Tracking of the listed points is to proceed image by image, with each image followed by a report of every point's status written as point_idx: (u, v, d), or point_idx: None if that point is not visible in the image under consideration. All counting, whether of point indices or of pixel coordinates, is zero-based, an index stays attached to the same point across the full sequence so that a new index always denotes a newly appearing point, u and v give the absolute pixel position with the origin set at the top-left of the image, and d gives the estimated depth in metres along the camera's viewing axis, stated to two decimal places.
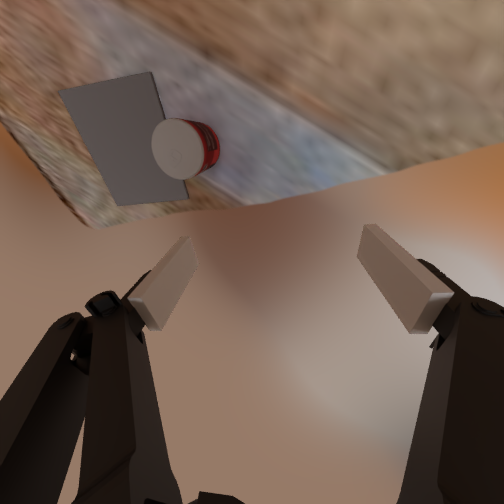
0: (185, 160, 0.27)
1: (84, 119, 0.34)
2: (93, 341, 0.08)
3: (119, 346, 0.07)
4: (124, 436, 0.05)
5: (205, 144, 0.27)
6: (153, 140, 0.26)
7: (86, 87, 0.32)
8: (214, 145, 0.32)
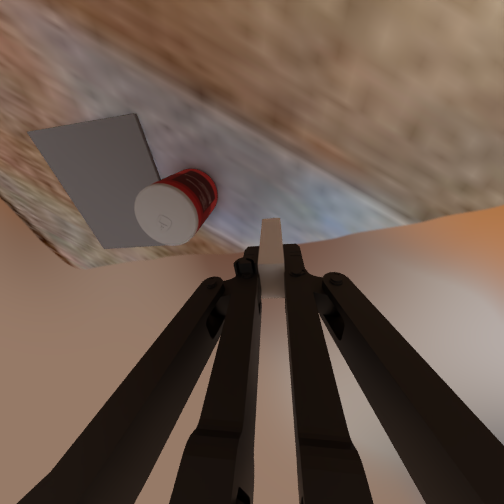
0: (176, 226, 0.23)
1: (60, 162, 0.30)
2: (231, 295, 0.09)
3: (247, 313, 0.08)
4: (236, 406, 0.05)
5: (199, 207, 0.23)
6: (136, 206, 0.22)
7: (59, 128, 0.27)
8: (211, 198, 0.27)
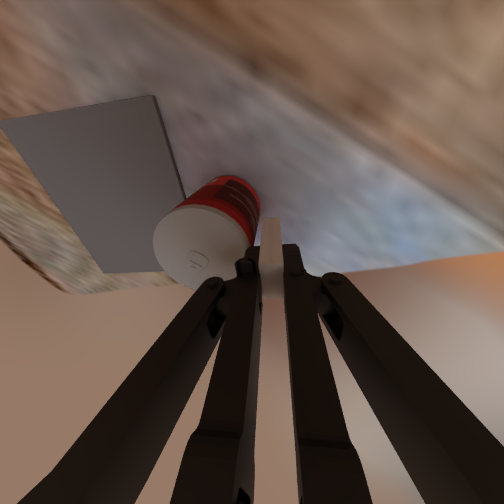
0: (214, 267, 0.15)
1: (45, 164, 0.22)
2: (232, 295, 0.09)
3: (248, 313, 0.08)
4: (236, 406, 0.05)
5: (252, 240, 0.15)
6: (156, 237, 0.14)
7: (43, 116, 0.19)
8: (257, 219, 0.19)
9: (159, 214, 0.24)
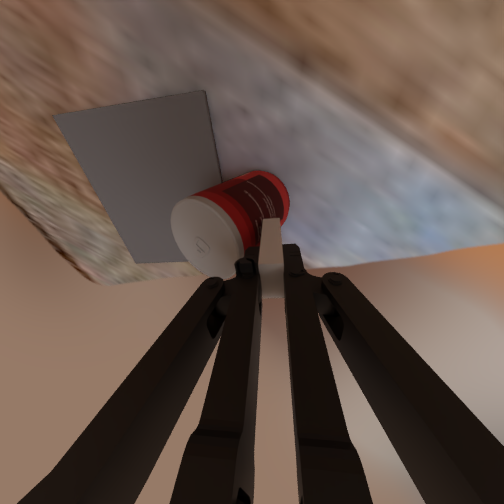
0: (214, 256, 0.16)
1: (93, 156, 0.23)
2: (232, 295, 0.09)
3: (248, 313, 0.08)
4: (236, 406, 0.05)
5: (250, 240, 0.15)
6: (172, 219, 0.16)
7: (97, 111, 0.20)
8: None
9: None
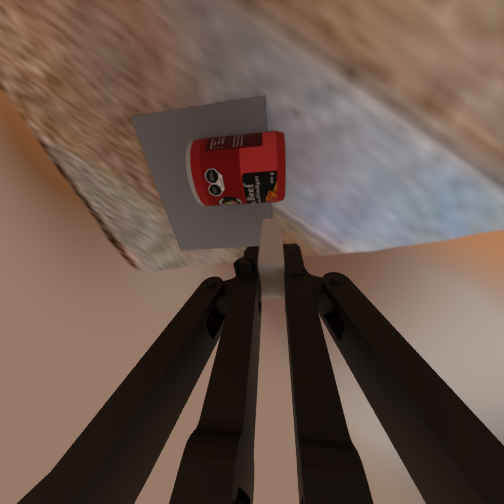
0: None
1: (159, 152, 0.26)
2: (231, 295, 0.09)
3: (248, 312, 0.08)
4: (236, 406, 0.05)
5: (200, 144, 0.20)
6: None
7: (170, 113, 0.24)
8: (244, 142, 0.20)
9: None
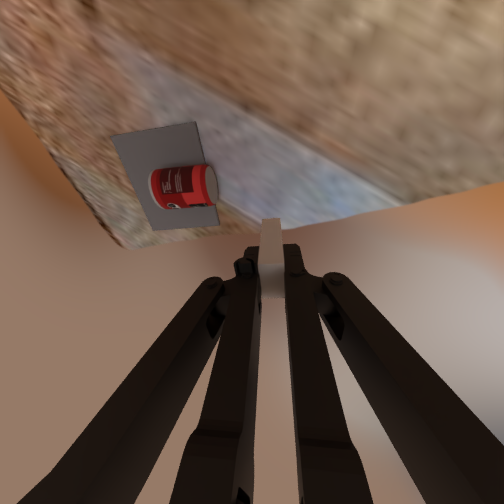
0: None
1: (131, 158, 0.39)
2: (231, 295, 0.09)
3: (247, 313, 0.08)
4: (236, 406, 0.05)
5: (157, 189, 0.34)
6: None
7: (136, 133, 0.36)
8: (183, 189, 0.33)
9: None
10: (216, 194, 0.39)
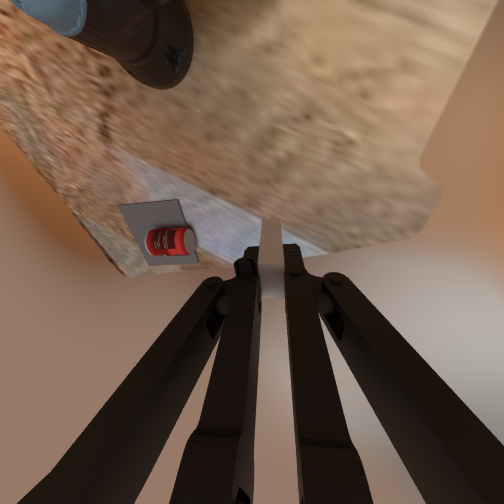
0: None
1: (132, 219, 0.53)
2: (231, 295, 0.09)
3: (248, 313, 0.08)
4: (236, 406, 0.05)
5: (150, 246, 0.49)
6: None
7: (136, 204, 0.51)
8: (168, 246, 0.48)
9: None
10: (194, 245, 0.54)
